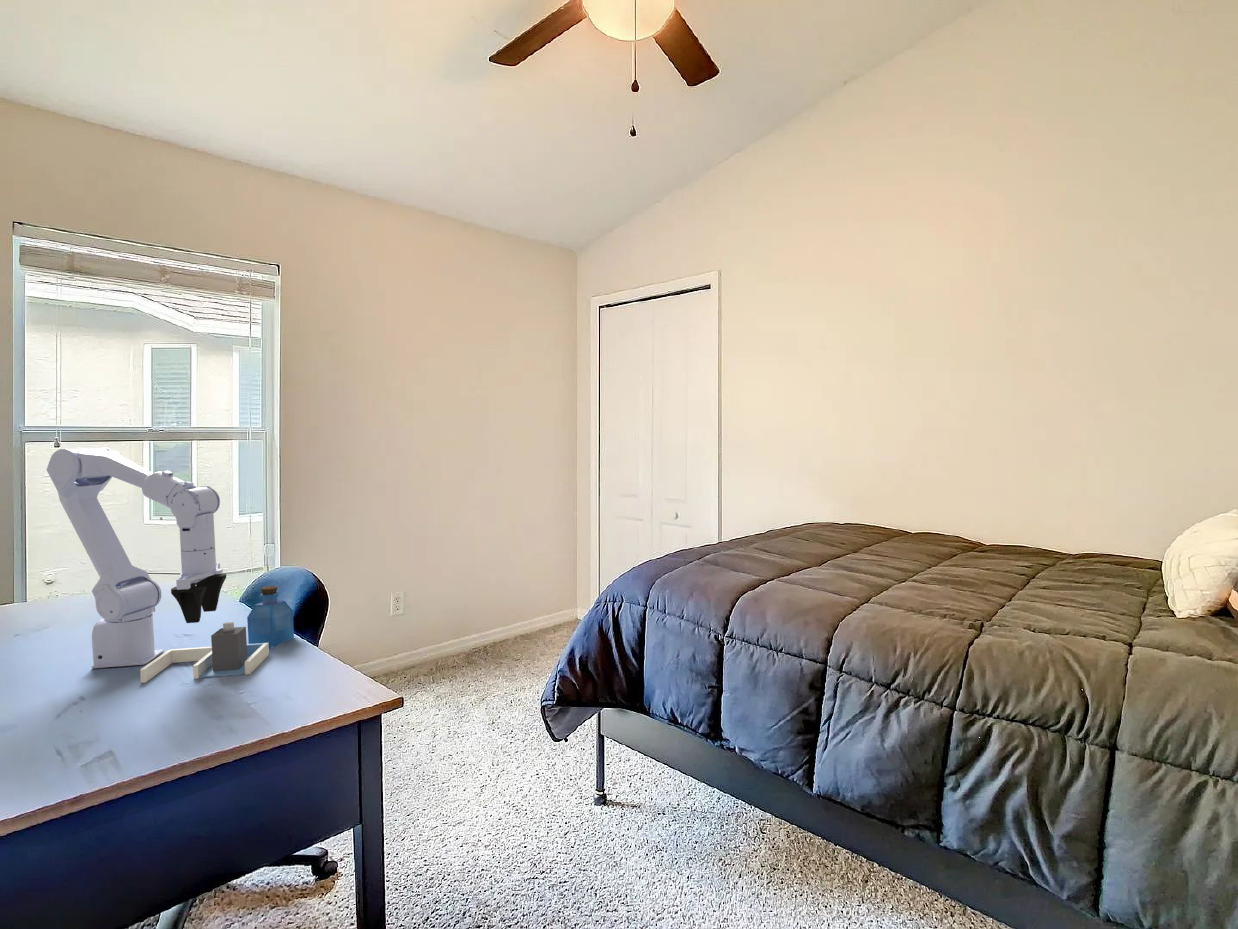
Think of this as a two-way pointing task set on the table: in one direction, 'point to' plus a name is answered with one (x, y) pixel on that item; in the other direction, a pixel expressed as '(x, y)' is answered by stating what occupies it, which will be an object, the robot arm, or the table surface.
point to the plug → (229, 647)
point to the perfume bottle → (270, 619)
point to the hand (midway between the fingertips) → (201, 616)
